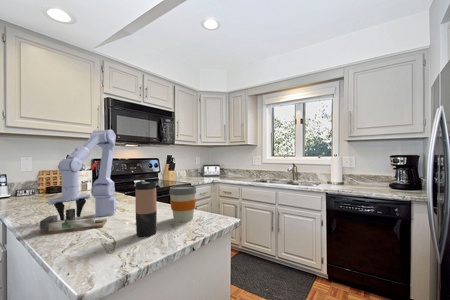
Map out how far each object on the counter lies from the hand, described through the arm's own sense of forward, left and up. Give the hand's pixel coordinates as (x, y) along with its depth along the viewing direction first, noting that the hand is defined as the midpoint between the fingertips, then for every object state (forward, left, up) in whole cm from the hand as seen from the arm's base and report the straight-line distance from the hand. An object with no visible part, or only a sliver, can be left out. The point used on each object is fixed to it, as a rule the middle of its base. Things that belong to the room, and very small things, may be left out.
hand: (70, 218), depth 91 cm
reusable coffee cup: (-47, +6, -4) cm, 48 cm away
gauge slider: (0, +1, -2) cm, 2 cm away
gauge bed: (-2, 0, -4) cm, 4 cm away
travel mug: (-31, +20, -4) cm, 37 cm away
